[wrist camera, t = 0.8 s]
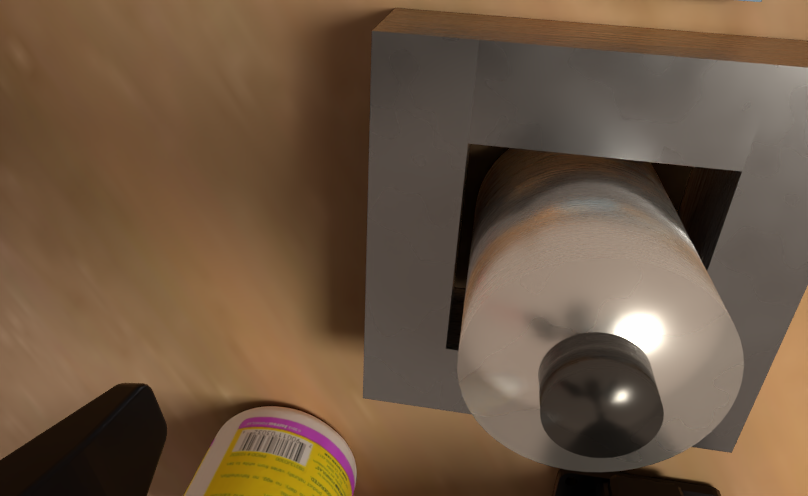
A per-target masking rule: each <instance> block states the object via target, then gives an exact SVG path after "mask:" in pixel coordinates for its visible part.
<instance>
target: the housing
mask: <svg viewBox="0 0 808 496" xmlns="http://www.w3.org/2000/svg"><path fill="white" fill-rule="evenodd" d="M471 144H478V145H488V146H498V147H508V148H518V149H527V150H537V151H547V152H557V153H567V154H576V155H586V156H596V157H606V158H615V159H625V160H635V161H645V162H655V163H664V164H674V165H684V166H692V169H691V172H690V176H689V179H688V182H687V185H686V189H685V192H684V195H683V198H682V202H681V205H680V208H679V212H678V216H679V218H680V220H681V222H682V224H683V226H684V228H685V230H686V232H687V234H688V235H689V237H690V239H691V241H692V243H693V245H694V247H695V249H696V251H697V253H698V255H699V257H700V259H701V261H702V263H703V265H704V267H705V269H706V271H707V272H708V274H709V276H710V278H711V280H712V282H713V284H714V286H715V288H716V290H717V292H718V294H719V296H720V298H721V300H722V302H723V304H724V306H725V308H726V309H727V311H728V313H729V315H730V317H731V319H732V321H733V323H734V325H735V328H736V330H737V332H738V335H739V337H740V340H741V345H742V349H743V357H744V370H743V377H742V383H741V386H740V389H739V392H738V395H737V397H736V399H735V401H734V403H733V405H732V407H731V409H730V410H729V412H728V413H727V414H726V416H725V417H724V418H723V420H722V421H721V422H720V423H719V424H718V425H717V426H716V427H715V428H714V429H713V430H712V431H711V432H710V433H709V434H708V435H707V436H705V437H704V438H703V439H702V440H700V441H699V442H698V443H696V444H695V445H693V446H691V447H696V448H703V449H710V450H717V451H723V452H730V453H732V451H733V449H734V446H735V444H736V442H737V440H738V437H739V435H740V433H741V431H742V429H743V426H744V424H745V422H746V420H747V418H748V415H749V413H750V411H751V409H752V407H753V404H754V402H755V400H756V398H757V396H758V393H759V391H760V389H761V387H762V385H763V382H764V380H765V378H766V376H767V374H768V371H769V369H770V367H771V365H772V362H773V360H774V358H775V356H776V354H777V351H778V349H779V347H780V345H781V343H782V340H783V338H784V336H785V334H786V332H787V329H788V327H789V325H790V323H791V321H792V318H793V316H794V314H795V312H796V310H797V307H798V305H799V303H800V301H801V298H802V296H803V294H804V292H805V290H806V287H807V285H808V41H801V40H789V39H776V38H764V37H751V36H739V35H726V34H714V33H701V32H689V31H676V30H664V29H651V28H639V27H627V26H614V25H602V24H589V23H577V22H564V21H552V20H539V19H527V18H514V17H502V16H489V15H477V14H464V13H452V12H440V11H427V10H415V9H402V8H395V9H394V10H393V11H392V12H391V13H390V14H389V15H388V16H387V17H386V18H385V19H384V20H383V21H382V22H380V23H379V24H378V25H377V26H376V27H375V28H374V29H373V30H372V49H371V90H370V131H369V172H368V213H367V254H366V295H365V336H364V377H363V398H365V399H372V400H379V401H386V402H392V403H399V404H406V405H413V406H419V407H426V408H433V409H440V410H446V411H453V412H460V413H467V414H472V413H471V412H470V410H469V409H468V407H467V405H466V403H465V401H464V398H463V396H462V393H461V389H460V386H459V381H458V373H457V363H458V351H459V342H460V334H461V326H462V317H463V309H464V301H465V292H466V289H459V288H455V280H456V271H457V262H458V253H459V244H460V235H461V226H462V217H463V208H464V199H465V190H466V181H467V172H468V163H469V154H470V145H471Z"/></svg>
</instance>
